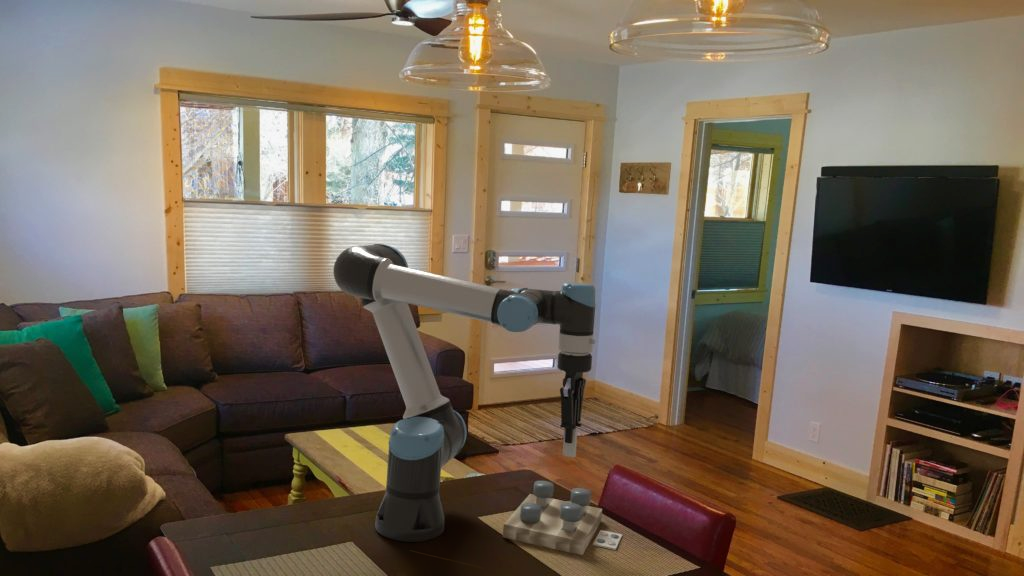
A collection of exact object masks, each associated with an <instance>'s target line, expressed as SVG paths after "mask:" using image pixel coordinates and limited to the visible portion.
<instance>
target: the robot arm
mask: <svg viewBox="0 0 1024 576" xmlns="http://www.w3.org/2000/svg"><path fill="white" fill-rule="evenodd" d="M332 273H333V278H334V281H335V283H336V284H337V286H338V287H339V289H340V290H341V291H342V292H344V293H345V294H347V295H349V296H350V297H355V298H359V299H360V302H361V305H362V308H363V309H365V310H367V311H369V312H371V313H372V316H373V319H374V322H375V324H376V327H377V329H378V333H379V335H380V337H381V341H382V343H383V346H384V347H383V348H384V349H385V352H386V355H387V357H388V360H389V363H390V366H391V368H392V369H391V370H392V371H393V374H394V377H395V380H396V382H397V385H398V388H399V391H400V393H401V395H402V400H403V401H404V404H405V411H404V413H403V415H402V418H403V419H400V420H399V421H397V422H395V424H394V425H393V426H392V428H391V429H390V434H389V438H388V453H387V468H386V469H387V471H386V483H385V487H386V488H385V493H384V496H383V498H382V500H381V503H380V505H379V508H378V510H377V513H376V516H375V525H374V529H375V531H377V533H378V534H380V535H381V536H383V537H385V538H388V539H390V540H392V541H398V542H408V543H416V542H424V541H425V542H426V541H429V540H433V539H435V538H437V537H439V536H441V535H442V534H443V532H444V531H445V524H446V523H445V522H446V521H445V518H446V517H445V514H444V510H443V506H442V503H441V499H440V485H441V474H442V473H441V472H442V471H441V470H442V468H443V467H444V466H445V465H446V464H447V463H448V462H450V461H451V460H452V459H454V458H455V457H456V456H457V455H458V454H459V453H460V452H461V450H462V448H463V447H464V445H465V443H466V440H467V435H468V434H467V430H468V429H467V425H466V423H465V420H464V419H463V417H462V415H461V414H460V413H459V412H457V411H456V410H454V409H453V406H452V403H451V401H450V398H448V397H446V396H443V395H442V394H441V391H440V389H439V386H438V384H437V381H436V377H435V376H434V373H433V370H432V367H431V364H430V361H429V359H428V356H427V353H426V351H425V348H424V345H423V342H422V339H421V337H420V334H419V331H418V329H417V326H416V323H415V321H414V320H415V319H414V317H413V314H412V312H411V308H410V306H409V305H413V306H417V307H420V308H421V307H422V308H424V309H425V308H427V309H430V310H433V311H439V312H442V313H447V314H452V315H456V316H460V317H463V318H468V319H473V320H477V321H481V322H486V323H489V324H493V325H496V326H500V327H502V328H503V329H505V330H506V331H508V332H511V333H523V332H526V331H527V330H529V329H530V328H532V327H533V326H534V325H537V324H548V325H549V324H550V325H559V332H558V333H559V336H558V351H559V352H558V354H557V368H558V369H559V370H560V371H561V372H564V373H565V375H564V378H563V379H562V387H560V389H559V393H560V407H561V409H560V411H561V412H560V414H561V415H560V418H561V422H560V423H561V424H560V428H563V442H562V444H563V445H562V457H569V458H575V457H576V456H577V444H578V441H577V440H578V428H581V427H582V425H583V424H582V423H580V422H581V421H582V411H583V410H582V409H583V402H584V393H585V387H586V383H587V380H586V378H584V373H588V372H590V371H591V370H592V362H593V361H592V359H593V355H592V354H591V353H592V352H593V346H594V344H596V340H595V339H594V338H593V337H594V329H595V328H594V327H595V315H596V307H597V304H596V288H595V286H594V285H593V284H590V283H583V282H564V283H563V284H562V285H561V289H560V290H546V289H536V288H534V289H533V288H528V287H516V288H515V287H513V288H511V289H510V290H507V289H506V290H505V289H501V288H499V287H493V286H489V285H485V284H481V283H475V282H471V281H468V280H462V279H459V278H454V277H450V276H445V275H441V274H436V273H433V272H428V271H423V270H419V269H415V268H410V267H409V265H408V261H407V260H406V258H405V256H404V255H403V253H402V252H401V251H399V250H398V249H397V248H395V247H393V246H390V245H386V244H383V243H375V244H367V245H365V244H364V245H354V246H350V247H348V248H346V249H344V250H343V251H341V253H340V254H339V255H338V256H337V257H336V260H335V261H334V265H333V272H332Z"/></svg>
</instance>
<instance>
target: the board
mask: <svg viewBox="0 0 1024 576" xmlns="http://www.w3.org/2000/svg"><path fill="white" fill-rule="evenodd" d="M524 503H534V504H536V496H535V495H534V494H531V493H529V494H528V495H527V496H526V497H525V499H524V500H523V501H522V502H521V503H520V505H519V506H518V507H517V508H516V509H515V511H514V512H513V513H512V514H511V515H509V517H508V518H507V520H506V521H505V522H504V523H503V529H502V538H504V539H509V540H513V541H518V542H523V543H526V544H531V545H536V546H540V547H544V548H549V549H552V550H557V551H562V552H566V553H571V554H575V555H580V556H584V554H585V553H586V550H587V549H588V546H589V544H590V543H591V541H592V539H593V537H594V535H595V533H596V531H597V529H598V527H599V526H600V524H601V522H602V518H603V517H602V516H603V508H601V507H594V506H590V505H588V506H586V510H585V515H584V516H581V519H580V521H578V522H576V529H575V532H569V531H564V530H562V529H563V520H562V519H561V518H560V508H561V504H563V503H571V502H570V501H565V500H561V499H557V498H556V499H555V498H553V497H551V498H549V501H548V507H547V508H543V507H541V518H540V521H538V522H536V523H535V524H532V523H528V522H523V520H522V519H521V518H520V510H521V505H522V504H524Z"/></svg>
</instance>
